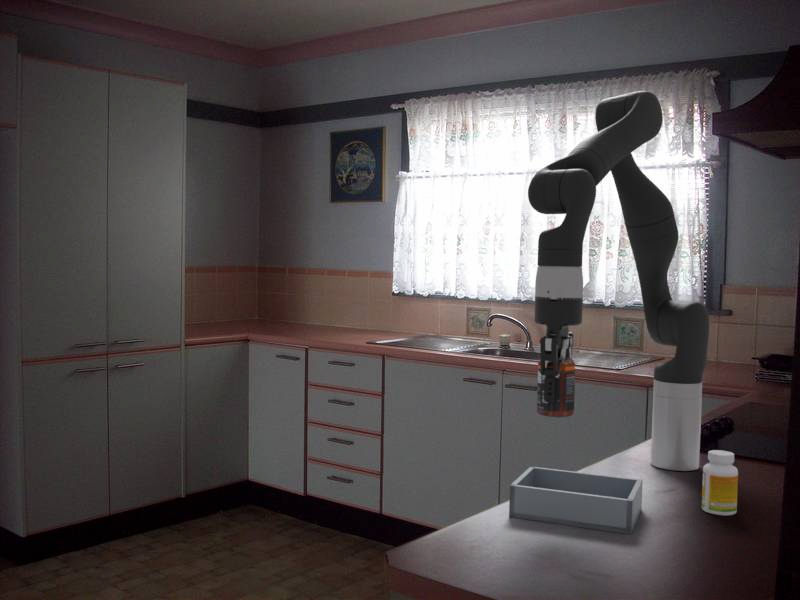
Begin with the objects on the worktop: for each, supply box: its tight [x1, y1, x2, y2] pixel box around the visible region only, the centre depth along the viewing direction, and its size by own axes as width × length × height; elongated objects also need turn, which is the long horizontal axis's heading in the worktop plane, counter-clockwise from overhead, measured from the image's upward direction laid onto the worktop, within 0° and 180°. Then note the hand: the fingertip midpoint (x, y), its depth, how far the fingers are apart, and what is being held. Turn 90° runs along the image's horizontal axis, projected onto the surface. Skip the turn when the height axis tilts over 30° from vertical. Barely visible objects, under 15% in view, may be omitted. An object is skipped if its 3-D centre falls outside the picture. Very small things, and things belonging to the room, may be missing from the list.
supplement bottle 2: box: [701, 449, 739, 516], centre depth 134 cm, size 5×5×10 cm
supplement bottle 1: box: [536, 345, 576, 418], centre depth 132 cm, size 6×6×11 cm
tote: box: [508, 466, 644, 535], centre depth 131 cm, size 14×19×5 cm
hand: (555, 398), depth 132 cm, fingers closed on supplement bottle 1, 6 cm apart
